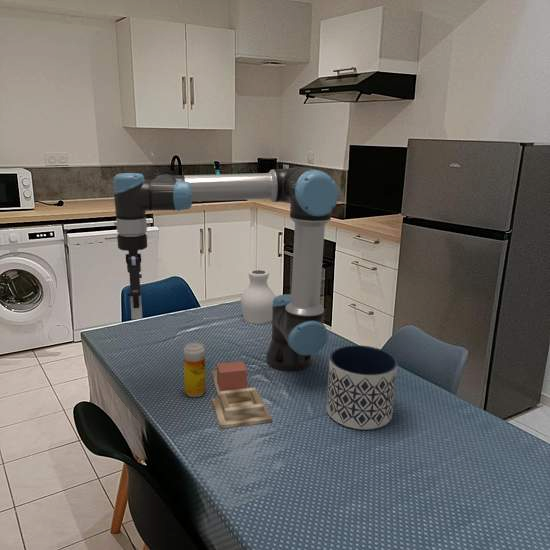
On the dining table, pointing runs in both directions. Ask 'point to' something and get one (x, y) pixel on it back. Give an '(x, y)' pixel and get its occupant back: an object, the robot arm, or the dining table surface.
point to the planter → (361, 386)
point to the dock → (239, 406)
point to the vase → (257, 299)
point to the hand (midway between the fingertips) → (136, 309)
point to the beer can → (194, 369)
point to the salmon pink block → (231, 376)
